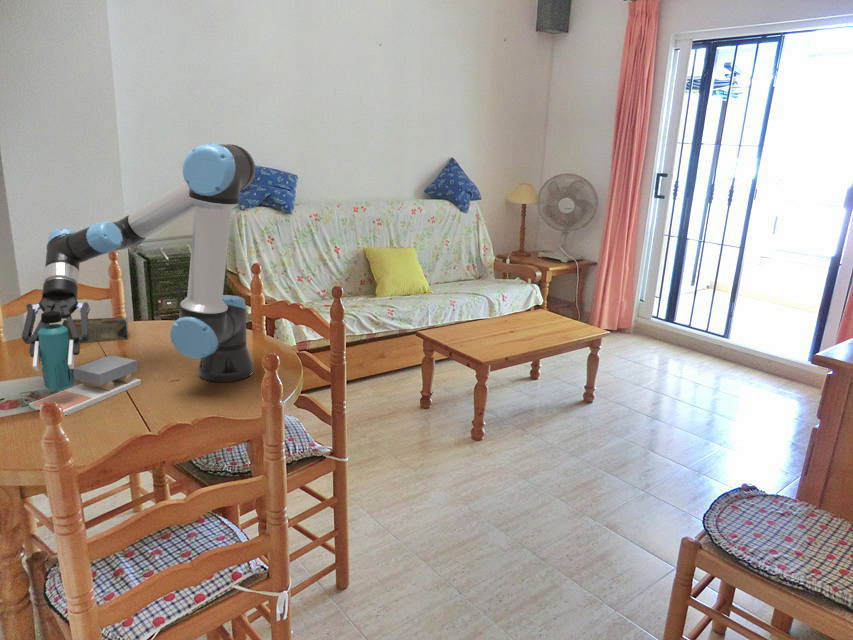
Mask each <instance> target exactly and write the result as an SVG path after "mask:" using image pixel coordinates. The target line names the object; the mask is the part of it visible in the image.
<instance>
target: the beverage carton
mask: <svg viewBox="0 0 853 640" xmlns="http://www.w3.org/2000/svg"><path fill="white" fill-rule="evenodd" d="M73 322H74V325H75V327H76V330H77V333H78V335H82V331H81V318H80V319H79V318H78V319H77V318H76V319H74V318H73ZM128 324H129V318H128V317H125V316H122V317H120V316H119V317H105V318H102V317H101V318H88V328H89V340H88V341H83V342H81V343H80V344H84V343H85V344H86V343H94V342H95V343H98V342H99V343H100V342H112V341H123V340H124V341H126V340H129V325H128ZM61 325H63V326H65V327H66V328H67V329H68V337H69V341H70V340H73V341H74V339H73V336H72V333H71V331H70V328H69V325H68V323H67V320H66V319H63V322H62V324H61Z"/></svg>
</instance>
